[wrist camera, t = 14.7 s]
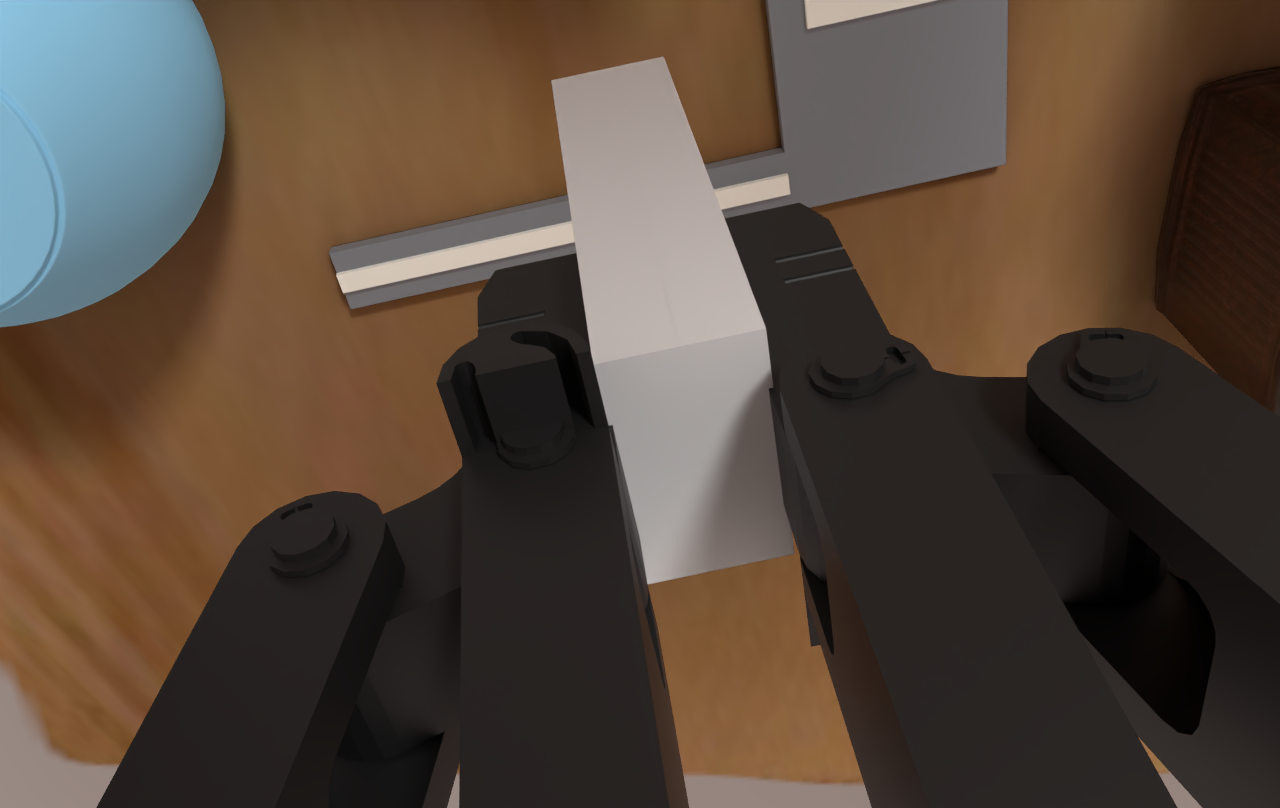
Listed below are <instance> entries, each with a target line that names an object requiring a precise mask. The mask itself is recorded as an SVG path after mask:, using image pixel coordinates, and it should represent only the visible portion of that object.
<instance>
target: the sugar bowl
mask: <svg viewBox="0 0 1280 808" xmlns="http://www.w3.org/2000/svg"><path fill="white" fill-rule="evenodd" d="M224 135H225V99H224V91H223V84H222V76H221V72H220V68H219V65H218V61H217V57H216V54H215V50H214V46H213V44H212V41H211V39H210V37H209V34H208V32H207V29H206V27H205V24H204V22H203V19H202V17H201V15H200V13H199V12H198V10H197V8H196V6H195V4H194V3H193V1H192V0H0V327H8V326H17V325H23V324H28V323H34V322H38V321H43V320H47V319H52V318H56V317H59V316H62V315H65V314H68V313H71V312H73V311H76V310H79V309H82V308H84V307H86V306H89V305H91V304H94V303H96V302H98V301H100V300H102V299H104V298H106V297H108V296H110V295H112V294H114V293H115V292H117V291H119V290H120V289H122V288H123V287H125V286H126V285H127V284H129V283H130V282H132V281H133V280H134V279H136V278H137V277H139V276H140V275H141V274H143V273H144V272H146V271H147V270H148V269H150V268H151V267H152V266H153V265H154V264H155V263H156V262H157V261H158V260H159V259H160V258H161V257H162V256H163V255H164V254H166V253H167V252H168V251H169V250H170V249H171V248H172V247H173V246H174V245H175V244H176V243H177V242H178V241H179V239H180V238H181V237H182V235H183V234H184V233H185V231H186V230H187V229H188V227H189V226H190V225H191V223H192V222H193V221H194V219H195V217H196V215H197V213H198V212H199V210H200V208H201V206H202V204H203V202H204V200H205V198H206V196H207V194H208V192H209V190H210V188H211V186H212V184H213V181H214V178H215V175H216V172H217V169H218V166H219V163H220V160H221V154H222V148H223V142H224Z"/></svg>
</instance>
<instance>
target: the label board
mask: <svg viewBox="0 0 1280 808" xmlns="http://www.w3.org/2000/svg"><path fill="white" fill-rule="evenodd" d="M765 3H766V12H767V21H768V30H769V39H770V47H771V56H772V65H773V74H774V83H775V92H776V101H777V109H778V118H779V127H780V136H781V145H782V147H781V148H776V149H772V150H767V151H763V152H758V153H754V154H749V155H745V156H740V157H736V158H731V159H727V160H722V161H718V162H713V163H709V164H704V165H705V168H706V171H707V173H708V176H709V178H710V181H711V184H712V186H713V189H714V192H715V194H716V197H717V200H718V202H719V205H720V208H721V210H722V213H723V216H724V218H729V217H734V216H738V215H743V214H748V213H753V212H757V211H762V210H767V209H771V208H776V207H781V206H786V205H790V204H795V203H801V204H803V205H805V206H806V207H808V208H811V207H815V206H820V205H824V204H829V203H833V202H838V201H842V200H847V199H851V198H856V197H860V196H865V195H869V194H874V193H878V192H883V191H887V190H892V189H896V188H901V187H905V186H910V185H914V184H919V183H923V182H928V181H932V180H937V179H942V178H946V177H951V176H955V175H960V174H964V173H969V172H973V171H978V170H982V169H987V168H991V167H996V166H1000V165H1005V164H1006V116H1007V36H1008V0H765ZM574 253H576V246H575V239H574V232H573V226H572V219H571V212H570V205H569V198H568V195H564V196H560V197H555V198H551V199H546V200H542V201H537V202H533V203H528V204H524V205H519V206H515V207H510V208H506V209H501V210H497V211H492V212H488V213H483V214H479V215H474V216H470V217H465V218H461V219H456V220H452V221H447V222H443V223H438V224H434V225H429V226H425V227H420V228H416V229H411V230H407V231H402V232H398V233H393V234H389V235H384V236H380V237H375V238H371V239H366V240H362V241H357V242H353V243H348V244H343V245H339V246H334V247H330V252H329V255H330V257H331V260H332V262H333V265H334V267H335V270H336V273H337V274H336V276H337V279H338V281H339V284H340V287H341V289H342V292H343V293H345V296H346V298H347V301H348V303H349V306H350V308H351V309H355V308H359V307H364V306H368V305H373V304H377V303H382V302H386V301H391V300H395V299H400V298H404V297H409V296H413V295H418V294H422V293H427V292H432V291H436V290H441V289H445V288H450V287H454V286H459V285H463V284H468V283H472V282H477V281H481V280H486V279H490V278H491V276H492V275H493V273H494V272H495V270H499V269H503V268H508V267H513V266H517V265H522V264H527V263H532V262H536V261H541V260H546V259H551V258H555V257H560V256H565V255H569V254H574Z"/></svg>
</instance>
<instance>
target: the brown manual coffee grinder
mask: <svg viewBox="0 0 1280 808" xmlns="http://www.w3.org/2000/svg"><path fill="white" fill-rule="evenodd" d="M1155 305H1156V309H1157V310H1158V311H1160V312H1161V313H1163V314H1164V315H1165V316H1166V318H1167V319H1168V320H1169V321H1170V322H1171V323H1172V324H1173V325H1174V326H1175V327H1176V329H1177V330H1178V331H1179V332H1180V333H1181V334H1182V335H1183V336H1184V337H1185V338H1186V339H1187V341H1188V342H1189V343H1190V344H1191V345H1192V346H1193V347H1194V348H1195V349H1196V350H1197V352H1198V353H1199V354H1200V355H1201V356H1202V357H1203V358H1204V359H1205V360H1206V361H1207V362H1208V364H1209V365H1210V366H1211V367H1212V368H1213V369H1214V370H1215V371H1216V372H1217V373H1218V375H1219V376H1220V377H1222V378H1223V379H1225V380H1226V381H1228V382H1229V383H1230V384H1232V385H1233V386H1235V387H1236V388H1238V389H1239V390H1241V391H1242V392H1243V393H1245V394H1246V395H1248V396H1249V397H1251V398H1252V399H1254V400H1255V401H1256V402H1258V403H1259V404H1261V405H1262V406H1264V407H1265V408H1267V409H1268V410H1270V411H1271V412H1272V413H1274V414H1275V415H1277V416H1278V417H1280V67H1275V68H1270V69H1264V70H1259V71H1253V72H1248V73H1243V74H1240V75H1237V76H1234V77H1231V78H1228V79H1225V80H1222V81H1219V82H1215V83H1212V84H1209V85H1206V86H1203V87H1200V88H1198V91H1197V94H1196V97H1195V100H1194V103H1193V106H1192V108H1191V111H1190V114H1189V117H1188V120H1187V123H1186V126H1185V129H1184V131H1183V134H1182V137H1181V140H1180V143H1179V146H1178V150H1177V155H1176V160H1175V165H1174V169H1173V174H1172V179H1171V184H1170V189H1169V193H1168V198H1167V203H1166V208H1165V213H1164V218H1163V223H1162V228H1161V233H1160V238H1159V242H1158V247H1157V264H1156V287H1155Z"/></svg>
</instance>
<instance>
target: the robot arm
mask: <svg viewBox="0 0 1280 808" xmlns="http://www.w3.org/2000/svg"><path fill="white" fill-rule="evenodd" d="M551 82H552V89H553V96H554V103H555V110H556V116H557V123H558V130H559V137H560V144H561V151H562V157H563V164H564V171H565V178H566V185H567V192H568V198H569V205H570V212H571V219H572V226H573V232H574V239H575V246H576V253H574V254H569V255H565V256H560V257H555V258H551V259H546V260H541V261H536V262H532V263H527V264H522V265H517V266H513V267H508V268H503V269H499V270H495V272H494V273H493V275H492V276H491V278H490V279H489V281H488V283H487V284H486V286H485V287H484V289H483V290H482V292H481V293H480V295H479V296H478V327H479V330H478V337H477V338H476V339H474V340H472V341H470V342H469V343H467V344H465V345H464V346H462V347H460V348H459V349H458V350H457V351H456V352H455V353H454V354H453V355H452V356H451V357H450V358H449V359H448V360H447V361H446V363H445V364H444V365H443V366H442V369H441V372H440V375H439V378H438V381H437V383H436V384H437V387H438V389H439V392H440V395H441V398H442V401H443V404H444V407H445V409H446V412H447V415H448V418H449V421H450V424H451V427H452V429H453V432H454V435H455V438H456V441H457V444H458V446H459V449H460V452H461V455H462V468H461V469H460V470H459V471H458V472H457V473H456V474H455V475H454V476H453V477H452V478H450V479H449V480H448V481H446V482H445V483H444V484H442V485H441V486H440V487H439V488H437V489H435V490H433V491H431V492H430V493H428V494H426V495H424V496H422V497H420V498H418V499H416V500H414V501H412V502H410V503H407V504H405V505H403V506H401V507H399V508H396V509H394V510H392V511H390V512H387V513H385V514H382V512H381V510H380V508H379V506H378V504H377V503H375V502H373V501H371V500H370V499H368V498H366V497H364V496H363V495H361V494H357V493H348V492H338V491H332V492H327V493H321V494H316V495H310V496H306V497H303V498H301V499H299V500H296V501H294V502H292V503H290V504H287V505H285V506H283V507H280V508H278V509H277V510H275V511H274V512H273V513H271V514H270V515H269V516H267V517H266V518H264V519H263V520H262V521H260V522H259V523H258V524H256V525H255V526H254V527H253V528H252V529H251V531H250V532H249V533H248V534H247V536H246V537H245V538H244V539H243V541H242V542H241V543H240V545H239V546H238V547H237V549H236V550H235V552H234V554H233V556H232V558H231V560H230V562H229V563H228V565H227V567H226V569H225V571H224V573H223V575H222V576H221V578H220V580H219V582H218V584H217V586H216V587H215V589H214V591H213V593H212V595H211V597H210V599H209V600H208V602H207V604H206V606H205V608H204V610H203V612H202V613H201V615H200V617H199V619H198V621H197V623H196V624H195V626H194V628H193V630H192V632H191V634H190V636H189V637H188V639H187V641H186V643H185V645H184V647H183V649H182V650H181V652H180V654H179V656H178V658H177V660H176V662H175V663H174V665H173V667H172V669H171V671H170V673H169V674H168V676H167V678H166V680H165V682H164V684H163V686H162V687H161V689H160V691H159V693H158V695H157V697H156V699H155V700H154V702H153V704H152V706H151V708H150V710H149V711H148V713H147V715H146V717H145V719H144V721H143V723H142V724H141V726H140V728H139V730H138V732H137V734H136V736H135V737H134V739H133V741H132V743H131V745H130V747H129V748H128V750H127V752H126V754H125V756H124V758H123V760H122V761H121V763H120V765H119V767H118V769H117V771H116V773H115V775H114V776H113V778H112V780H111V782H110V784H109V786H108V787H107V789H106V791H105V793H104V795H103V797H102V799H101V801H100V802H99V804H98V806H97V808H447V805H448V802H449V798H450V795H451V791H452V787H453V784H454V780H455V777H456V773H457V769H458V766H459V762H460V799H459V804H460V805H459V808H689V805H688V799H687V793H686V788H685V782H684V776H683V770H682V765H681V759H680V753H679V747H678V742H677V736H676V730H675V725H674V719H673V713H672V707H671V702H670V696H669V690H668V684H667V679H666V673H665V667H664V662H663V656H662V650H661V644H660V639H659V633H658V627H657V623H656V618H655V614H654V610H653V606H652V602H651V598H650V594H649V590H648V584H652V583H657V582H662V581H667V580H671V579H676V578H681V577H686V576H691V575H695V574H700V573H705V572H710V571H715V570H719V569H724V568H729V567H734V566H739V565H744V564H748V563H753V562H758V561H763V560H768V559H772V558H777V557H782V556H787V555H792V554H794V546H793V538H792V532H793V535H794V538H795V541H796V544H797V547H798V550H799V554H800V560H801V568H802V576H803V584H804V592H805V600H806V609H807V617H808V625H809V633H810V641H811V646H816V645H821V647H822V651H823V654H824V657H825V660H826V663H827V666H828V670H829V673H830V676H831V679H832V682H833V686H834V689H835V692H836V695H837V698H838V701H839V705H840V708H841V711H842V714H843V717H844V721H845V724H846V727H847V730H848V733H849V737H850V740H851V743H852V746H853V749H854V752H855V756H856V759H857V762H858V765H859V768H860V772H861V775H862V778H863V781H864V784H865V788H866V791H867V794H868V797H869V800H870V803H871V807H872V808H1177V806H1176V804H1175V803H1174V801H1173V799H1172V797H1171V795H1170V794H1169V792H1168V790H1167V788H1166V786H1165V785H1164V783H1163V781H1162V779H1161V777H1160V776H1159V774H1158V772H1157V770H1156V768H1155V767H1154V765H1153V763H1152V761H1151V759H1150V758H1149V756H1148V754H1147V752H1146V750H1145V749H1144V747H1143V745H1142V743H1141V742H1140V740H1139V738H1140V739H1141V740H1142V741H1143V742H1144V743H1145V745H1146V746H1147V747H1148V748H1149V749H1150V750H1151V751H1152V752H1153V753H1154V754H1155V756H1156V757H1157V758H1158V759H1159V760H1160V761H1161V762H1162V763H1163V764H1164V766H1165V767H1166V768H1167V769H1168V770H1169V771H1170V772H1171V773H1172V774H1173V775H1174V777H1175V778H1176V779H1177V780H1178V781H1179V782H1180V783H1181V784H1182V785H1183V787H1184V788H1185V789H1186V790H1187V791H1188V792H1189V793H1190V794H1191V795H1192V797H1193V798H1194V799H1195V800H1196V801H1197V802H1198V803H1199V804H1200V805H1201V806H1202V807H1203V808H1280V417H1278V416H1277V415H1275V414H1274V413H1272V412H1271V411H1270V410H1268V409H1267V408H1265V407H1264V406H1262V405H1261V404H1259V403H1258V402H1256V401H1255V400H1254V399H1252V398H1251V397H1249V396H1248V395H1246V394H1245V393H1243V392H1242V391H1241V390H1239V389H1238V388H1236V387H1235V386H1233V385H1232V384H1230V383H1229V382H1228V381H1226V380H1225V379H1223V378H1222V377H1220V376H1219V375H1217V374H1216V373H1215V372H1213V371H1212V370H1210V369H1209V368H1207V367H1206V366H1204V365H1203V364H1201V363H1200V362H1199V361H1197V360H1196V359H1194V358H1193V357H1191V356H1190V355H1188V354H1187V353H1186V352H1184V351H1183V350H1181V349H1180V348H1178V347H1177V346H1175V345H1172V344H1170V343H1168V342H1166V341H1164V340H1162V339H1160V338H1158V337H1156V336H1154V335H1152V334H1147V333H1142V332H1138V331H1133V330H1128V329H1123V328H1087V329H1083V330H1079V331H1075V332H1070V333H1066V334H1062V335H1059V336H1057V337H1056V338H1054V339H1052V340H1050V341H1049V342H1047V343H1045V344H1044V345H1042V346H1040V347H1038V349H1037V350H1036V352H1035V353H1034V355H1033V356H1032V358H1031V359H1030V361H1029V362H1028V363H1027V377H973V376H959V375H954V374H949V373H945V372H941V371H936V370H933V368H932V367H931V365H930V363H929V361H928V359H927V358H926V357H925V356H924V355H923V354H922V353H921V352H920V351H919V350H918V349H917V348H916V347H915V346H914V345H913V344H911V343H909V342H906V341H904V340H902V339H899V338H897V337H895V336H893V335H890V333H889V332H888V330H887V328H886V326H885V324H884V322H883V320H882V318H881V317H880V315H879V313H878V311H877V309H876V307H875V305H874V303H873V301H872V300H871V298H870V296H869V294H868V292H867V290H866V288H865V286H864V285H863V283H862V281H861V279H860V277H859V275H858V273H857V271H856V270H855V269H853V264H852V262H851V260H850V258H849V256H848V255H847V253H846V251H845V249H843V247H842V243H841V241H840V240H839V238H838V236H837V234H836V232H835V230H834V228H833V226H832V225H831V223H830V221H829V220H828V219H826V218H825V217H823V216H821V215H820V214H818V213H816V212H815V211H813V210H811V209H810V208H808V207H806V206H805V205H803V204H801V203H795V204H790V205H786V206H781V207H776V208H771V209H767V210H762V211H757V212H753V213H748V214H743V215H738V216H734V217H729V218H724V216H723V213H722V210H721V208H720V205H719V202H718V200H717V197H716V194H715V192H714V189H713V186H712V184H711V181H710V178H709V176H708V173H707V171H706V168H705V165H704V163H703V160H702V157H701V155H700V152H699V149H698V147H697V144H696V141H695V139H694V136H693V133H692V131H691V128H690V125H689V123H688V120H687V117H686V115H685V112H684V109H683V107H682V104H681V102H680V99H679V96H678V94H677V91H676V88H675V86H674V83H673V80H672V78H671V75H670V72H669V70H668V67H667V64H666V62H665V59H664V57H659V58H654V59H649V60H645V61H640V62H635V63H631V64H626V65H621V66H617V67H612V68H607V69H603V70H598V71H593V72H588V73H584V74H579V75H574V76H570V77H565V78H560V79H556V80H551ZM791 529H792V530H791ZM1138 737H1139V738H1138Z"/></svg>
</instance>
